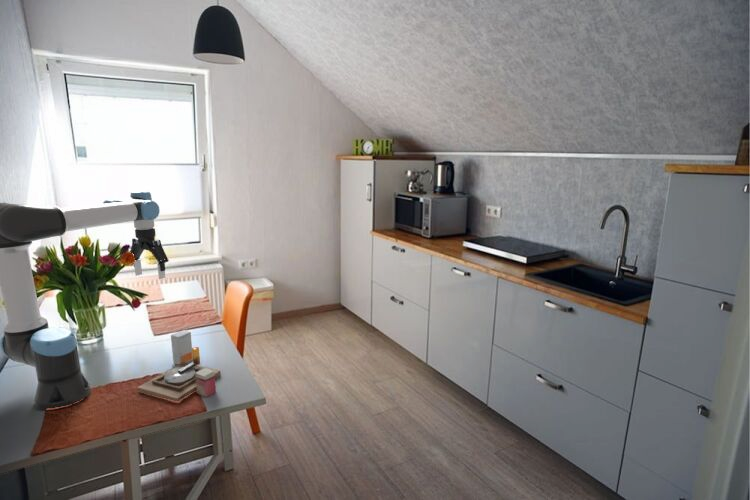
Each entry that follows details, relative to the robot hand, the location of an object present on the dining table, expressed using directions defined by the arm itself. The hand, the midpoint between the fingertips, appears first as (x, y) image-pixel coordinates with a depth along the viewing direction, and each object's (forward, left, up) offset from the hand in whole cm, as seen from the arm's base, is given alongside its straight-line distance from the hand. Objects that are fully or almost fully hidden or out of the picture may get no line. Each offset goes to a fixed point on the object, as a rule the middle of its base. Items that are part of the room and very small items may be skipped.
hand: (150, 276), depth 188 cm
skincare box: (-14, -29, -28) cm, 43 cm away
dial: (-25, -41, -26) cm, 55 cm away
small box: (-28, -54, -28) cm, 67 cm away
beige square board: (-27, -41, -28) cm, 57 cm away
